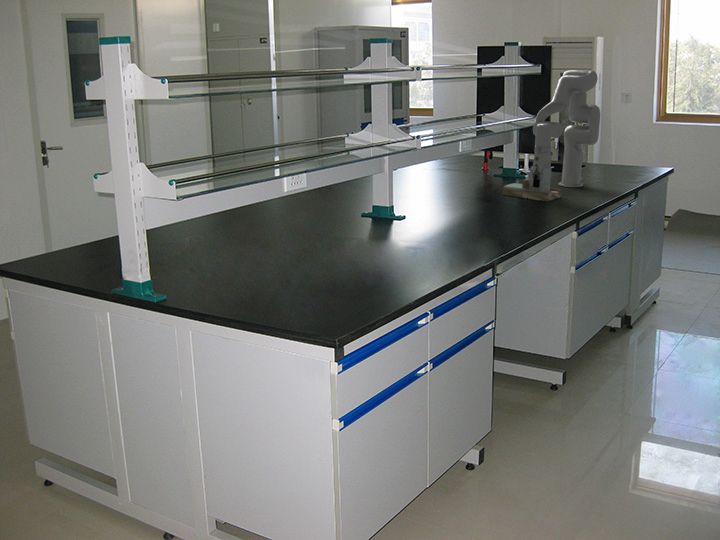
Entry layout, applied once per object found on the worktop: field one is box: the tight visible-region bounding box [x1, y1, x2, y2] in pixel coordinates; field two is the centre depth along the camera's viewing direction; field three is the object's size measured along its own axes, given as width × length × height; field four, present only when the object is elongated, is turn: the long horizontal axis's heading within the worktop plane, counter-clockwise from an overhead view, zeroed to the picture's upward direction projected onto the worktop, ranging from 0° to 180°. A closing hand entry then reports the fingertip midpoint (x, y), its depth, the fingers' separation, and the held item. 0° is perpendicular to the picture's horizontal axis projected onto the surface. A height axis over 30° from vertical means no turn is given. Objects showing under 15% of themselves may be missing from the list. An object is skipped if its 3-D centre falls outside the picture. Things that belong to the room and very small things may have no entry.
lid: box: [503, 177, 530, 190], centre depth 376 cm, size 10×12×5 cm
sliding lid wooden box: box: [502, 183, 562, 202], centre depth 372 cm, size 14×24×4 cm, turn 49°
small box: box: [529, 165, 552, 193], centre depth 368 cm, size 8×6×13 cm
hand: (539, 185), depth 369 cm, fingers closed on small box, 6 cm apart
